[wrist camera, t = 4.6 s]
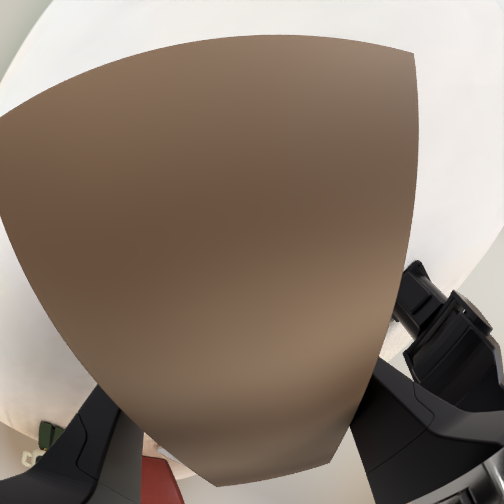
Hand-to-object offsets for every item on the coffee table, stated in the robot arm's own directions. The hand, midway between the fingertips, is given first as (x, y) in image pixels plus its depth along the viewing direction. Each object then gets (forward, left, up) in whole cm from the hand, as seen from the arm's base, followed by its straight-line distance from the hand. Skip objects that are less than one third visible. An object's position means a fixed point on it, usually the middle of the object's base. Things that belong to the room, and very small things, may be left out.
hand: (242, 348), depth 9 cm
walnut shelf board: (0, 0, -1) cm, 1 cm away
